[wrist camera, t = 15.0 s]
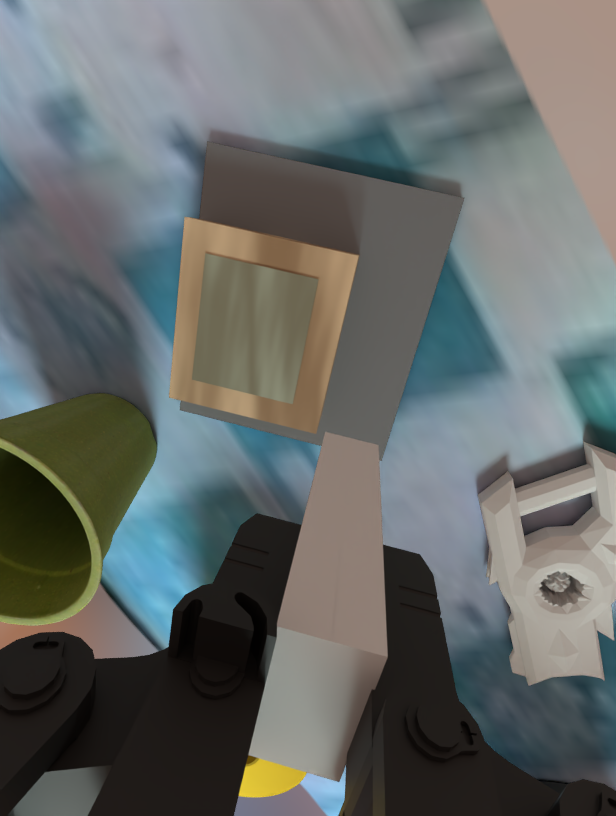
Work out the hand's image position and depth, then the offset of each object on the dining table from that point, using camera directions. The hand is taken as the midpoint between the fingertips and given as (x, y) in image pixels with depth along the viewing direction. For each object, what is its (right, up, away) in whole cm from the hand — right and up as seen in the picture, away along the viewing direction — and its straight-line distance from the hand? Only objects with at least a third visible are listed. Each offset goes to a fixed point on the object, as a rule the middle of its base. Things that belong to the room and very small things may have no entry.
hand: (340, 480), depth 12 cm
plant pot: (-15, 0, +19) cm, 25 cm away
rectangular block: (+1, +6, +12) cm, 13 cm away
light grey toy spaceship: (+17, -8, +18) cm, 26 cm away
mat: (-1, +8, +14) cm, 16 cm away
